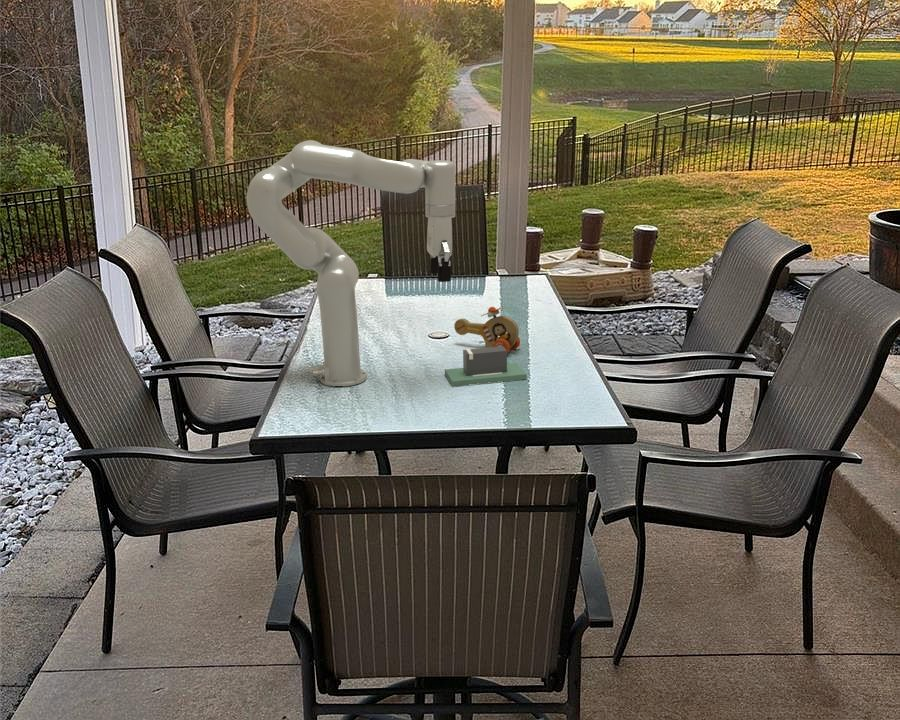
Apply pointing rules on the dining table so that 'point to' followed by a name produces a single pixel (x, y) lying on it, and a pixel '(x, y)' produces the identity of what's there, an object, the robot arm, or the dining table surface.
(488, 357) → the block
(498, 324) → the toy helicopter
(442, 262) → the robot arm
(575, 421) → the dining table surface
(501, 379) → the header board
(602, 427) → the dining table surface
